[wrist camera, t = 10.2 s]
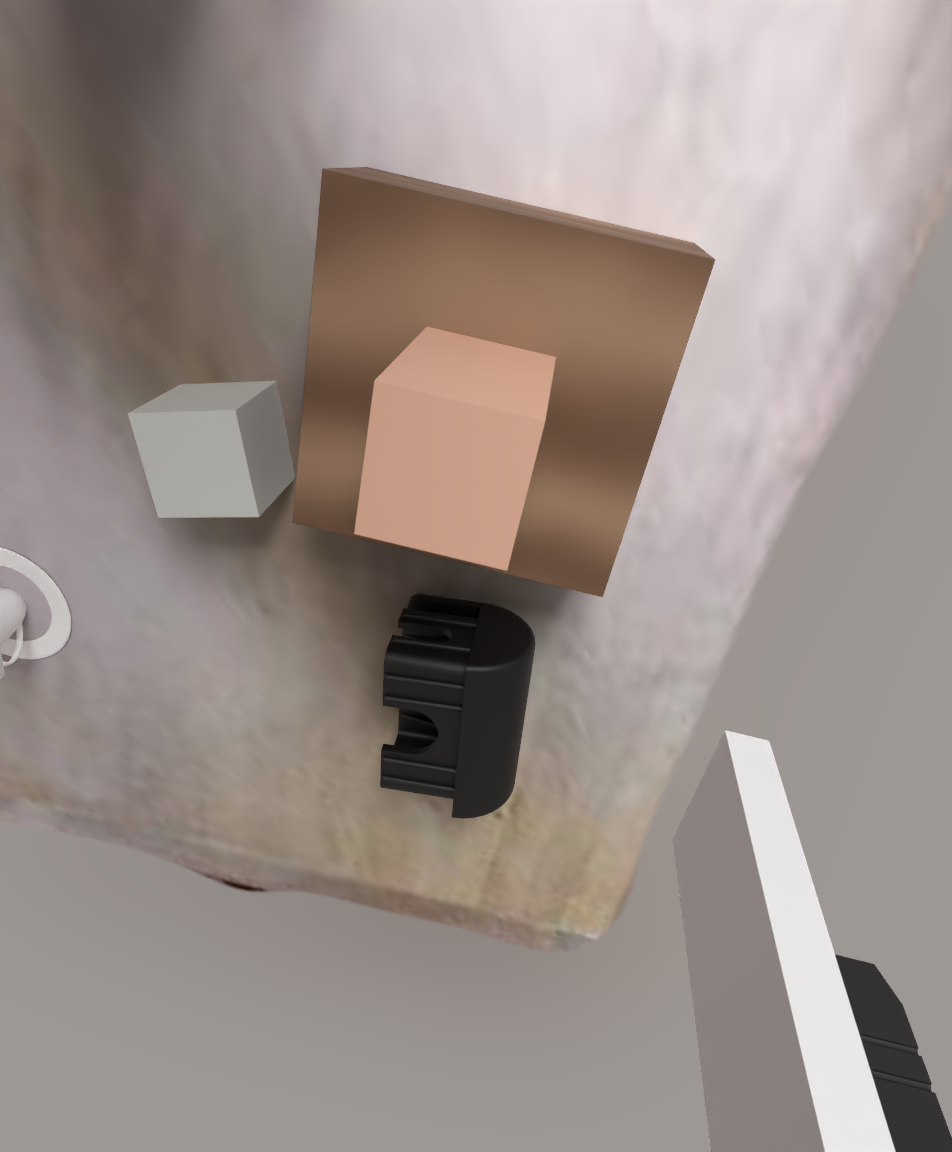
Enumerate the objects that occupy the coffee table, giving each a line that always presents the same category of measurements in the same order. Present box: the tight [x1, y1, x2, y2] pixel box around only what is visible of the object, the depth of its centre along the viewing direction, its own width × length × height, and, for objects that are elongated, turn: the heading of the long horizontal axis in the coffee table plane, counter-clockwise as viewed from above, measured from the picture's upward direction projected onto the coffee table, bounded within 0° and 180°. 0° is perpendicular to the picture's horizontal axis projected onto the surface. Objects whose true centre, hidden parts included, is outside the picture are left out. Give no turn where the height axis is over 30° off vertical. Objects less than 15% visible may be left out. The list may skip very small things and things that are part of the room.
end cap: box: [380, 594, 535, 818], centre depth 40 cm, size 10×7×7 cm
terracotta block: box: [354, 327, 556, 571], centre depth 26 cm, size 5×5×8 cm
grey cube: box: [128, 381, 295, 518], centre depth 36 cm, size 5×5×5 cm
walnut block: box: [293, 167, 715, 597], centre depth 32 cm, size 14×14×6 cm
